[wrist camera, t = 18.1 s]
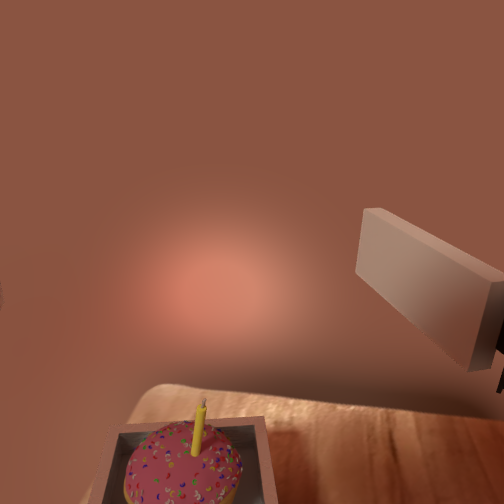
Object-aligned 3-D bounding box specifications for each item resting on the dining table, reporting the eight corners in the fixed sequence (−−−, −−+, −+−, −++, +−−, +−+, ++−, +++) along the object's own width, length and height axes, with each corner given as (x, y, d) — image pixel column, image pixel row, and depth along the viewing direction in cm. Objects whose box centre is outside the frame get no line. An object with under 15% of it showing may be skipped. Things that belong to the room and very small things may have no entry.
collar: (263, 436, 41) (264, 416, 40) (289, 603, 28) (290, 579, 27) (112, 446, 40) (109, 425, 39) (66, 625, 27) (60, 601, 26)
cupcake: (256, 485, 36) (258, 368, 31) (211, 591, 29) (206, 458, 24) (166, 455, 39) (157, 343, 34) (105, 544, 31) (82, 416, 27)
